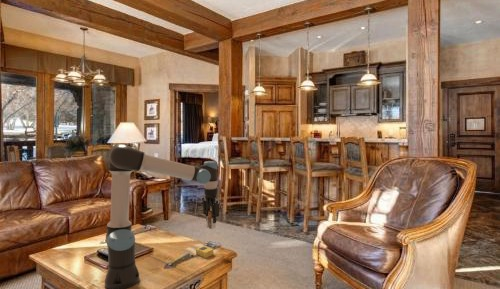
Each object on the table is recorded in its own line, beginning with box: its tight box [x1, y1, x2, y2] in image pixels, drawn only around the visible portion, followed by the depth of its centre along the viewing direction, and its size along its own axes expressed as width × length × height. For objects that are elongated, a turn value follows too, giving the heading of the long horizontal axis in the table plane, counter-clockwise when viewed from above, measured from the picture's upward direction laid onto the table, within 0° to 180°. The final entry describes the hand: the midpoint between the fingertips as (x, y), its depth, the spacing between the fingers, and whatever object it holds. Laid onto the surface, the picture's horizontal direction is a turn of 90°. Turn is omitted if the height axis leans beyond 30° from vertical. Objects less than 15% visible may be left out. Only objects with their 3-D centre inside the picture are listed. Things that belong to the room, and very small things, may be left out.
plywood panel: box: [180, 243, 220, 259], centre depth 179 cm, size 14×18×1 cm
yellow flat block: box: [196, 245, 215, 259], centre depth 174 cm, size 6×8×3 cm
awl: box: [208, 209, 213, 230], centre depth 179 cm, size 3×3×10 cm
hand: (211, 227), depth 180 cm, fingers closed on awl, 3 cm apart
